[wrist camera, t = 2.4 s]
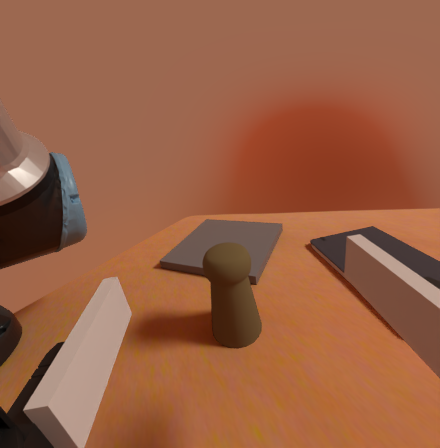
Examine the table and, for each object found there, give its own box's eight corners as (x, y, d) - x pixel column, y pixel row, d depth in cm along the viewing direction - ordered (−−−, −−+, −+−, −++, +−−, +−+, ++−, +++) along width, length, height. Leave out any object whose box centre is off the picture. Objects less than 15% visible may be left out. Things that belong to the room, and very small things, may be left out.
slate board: (161, 267, 44) (159, 260, 43) (207, 224, 58) (206, 219, 57) (256, 284, 36) (255, 276, 35) (282, 230, 50) (282, 223, 49)
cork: (203, 325, 30) (185, 250, 26) (239, 301, 33) (229, 230, 28) (232, 358, 25) (217, 274, 21) (272, 327, 28) (266, 247, 24)
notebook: (519, 317, 25) (372, 233, 45) (525, 306, 25) (372, 225, 44) (412, 346, 24) (308, 247, 44) (415, 335, 24) (308, 239, 43)
